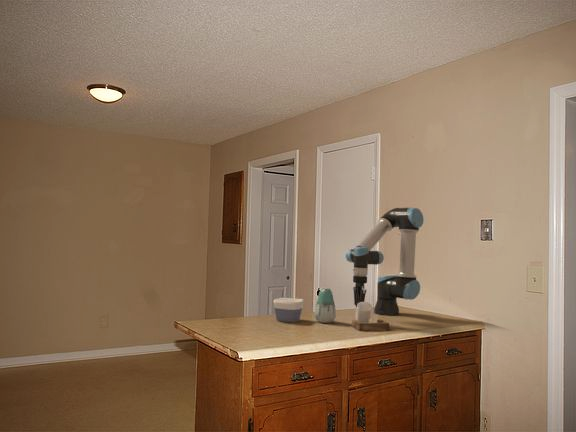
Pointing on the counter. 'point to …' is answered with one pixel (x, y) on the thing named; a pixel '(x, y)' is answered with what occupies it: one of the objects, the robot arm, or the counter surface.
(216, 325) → the counter surface
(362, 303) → the white cup
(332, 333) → the counter surface
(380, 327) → the brown wooden tray
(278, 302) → the bowl
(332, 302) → the vase
